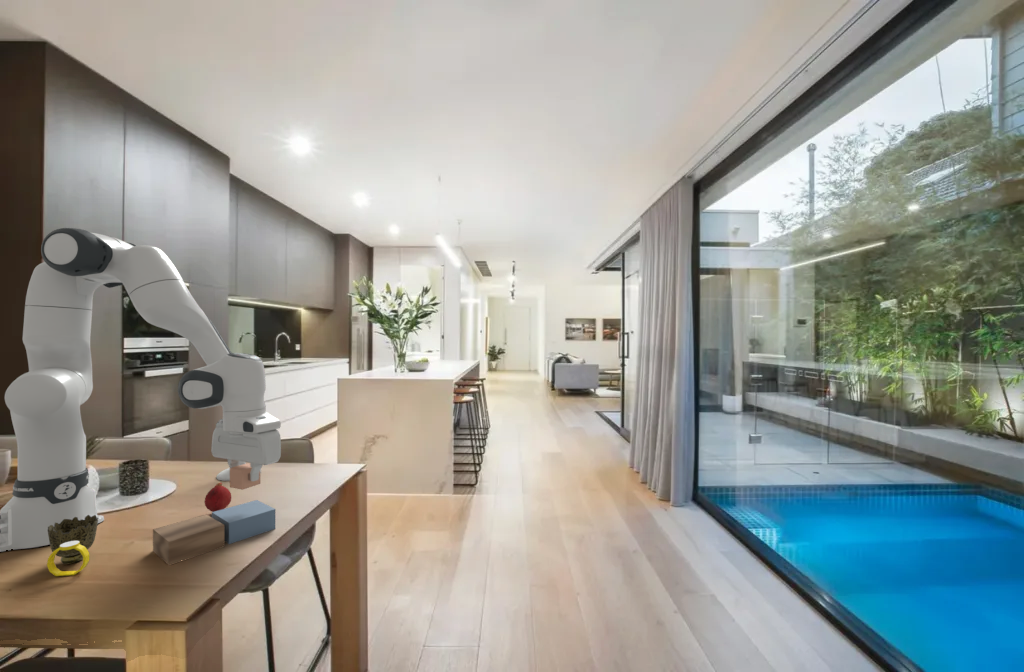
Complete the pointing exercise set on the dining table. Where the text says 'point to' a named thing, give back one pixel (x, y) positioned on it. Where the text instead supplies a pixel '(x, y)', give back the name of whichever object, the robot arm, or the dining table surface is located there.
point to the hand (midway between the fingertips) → (245, 478)
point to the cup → (72, 536)
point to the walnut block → (188, 538)
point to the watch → (68, 546)
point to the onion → (217, 498)
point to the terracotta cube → (242, 477)
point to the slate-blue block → (245, 520)
